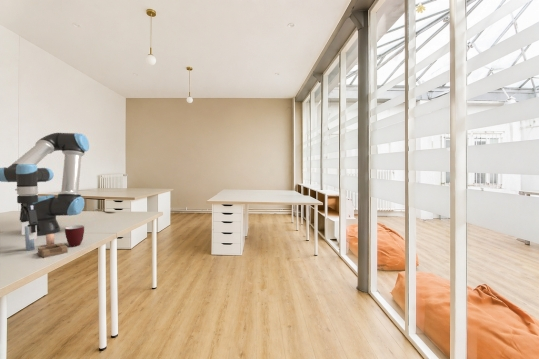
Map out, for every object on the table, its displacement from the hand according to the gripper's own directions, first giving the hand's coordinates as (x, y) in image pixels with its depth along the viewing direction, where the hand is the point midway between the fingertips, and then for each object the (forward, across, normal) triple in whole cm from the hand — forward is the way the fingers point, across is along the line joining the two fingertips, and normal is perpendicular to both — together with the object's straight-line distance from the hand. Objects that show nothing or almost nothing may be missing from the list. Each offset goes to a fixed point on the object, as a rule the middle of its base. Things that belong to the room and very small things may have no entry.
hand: (29, 236), depth 126 cm
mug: (+7, +9, +16) cm, 20 cm away
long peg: (+7, 0, 0) cm, 7 cm away
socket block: (+7, +15, +5) cm, 17 cm away
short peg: (+7, 0, +8) cm, 11 cm away
